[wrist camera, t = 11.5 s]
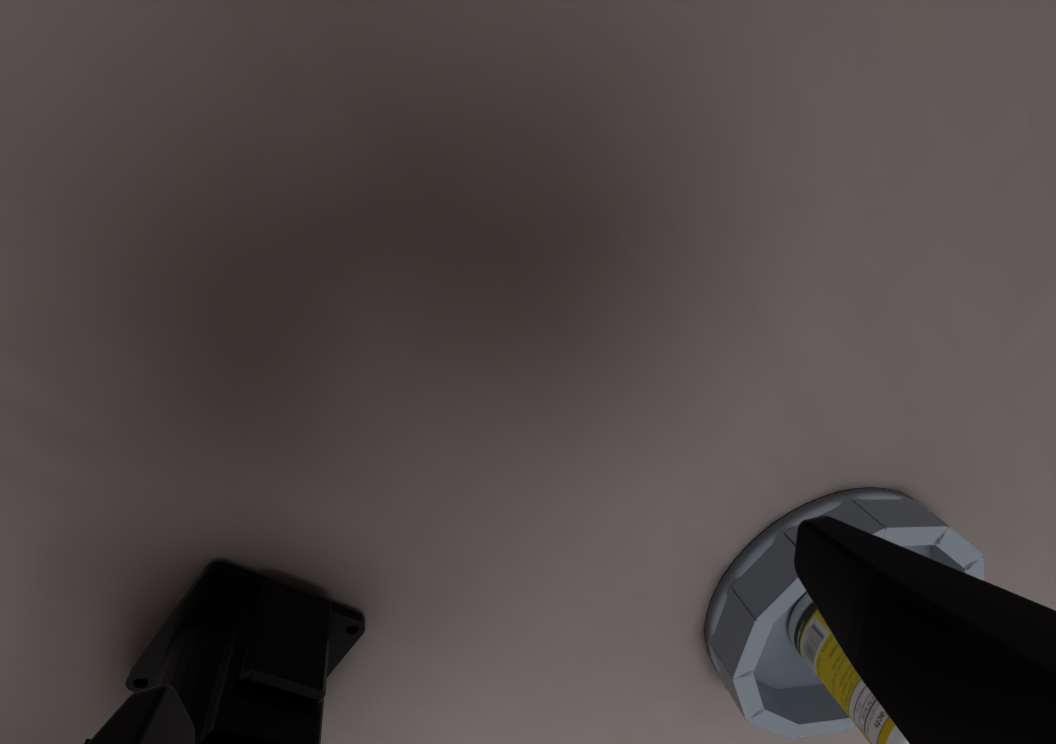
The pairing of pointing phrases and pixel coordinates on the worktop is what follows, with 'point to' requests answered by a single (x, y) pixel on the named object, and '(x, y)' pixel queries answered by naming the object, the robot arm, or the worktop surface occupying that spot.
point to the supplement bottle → (839, 674)
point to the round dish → (774, 590)
